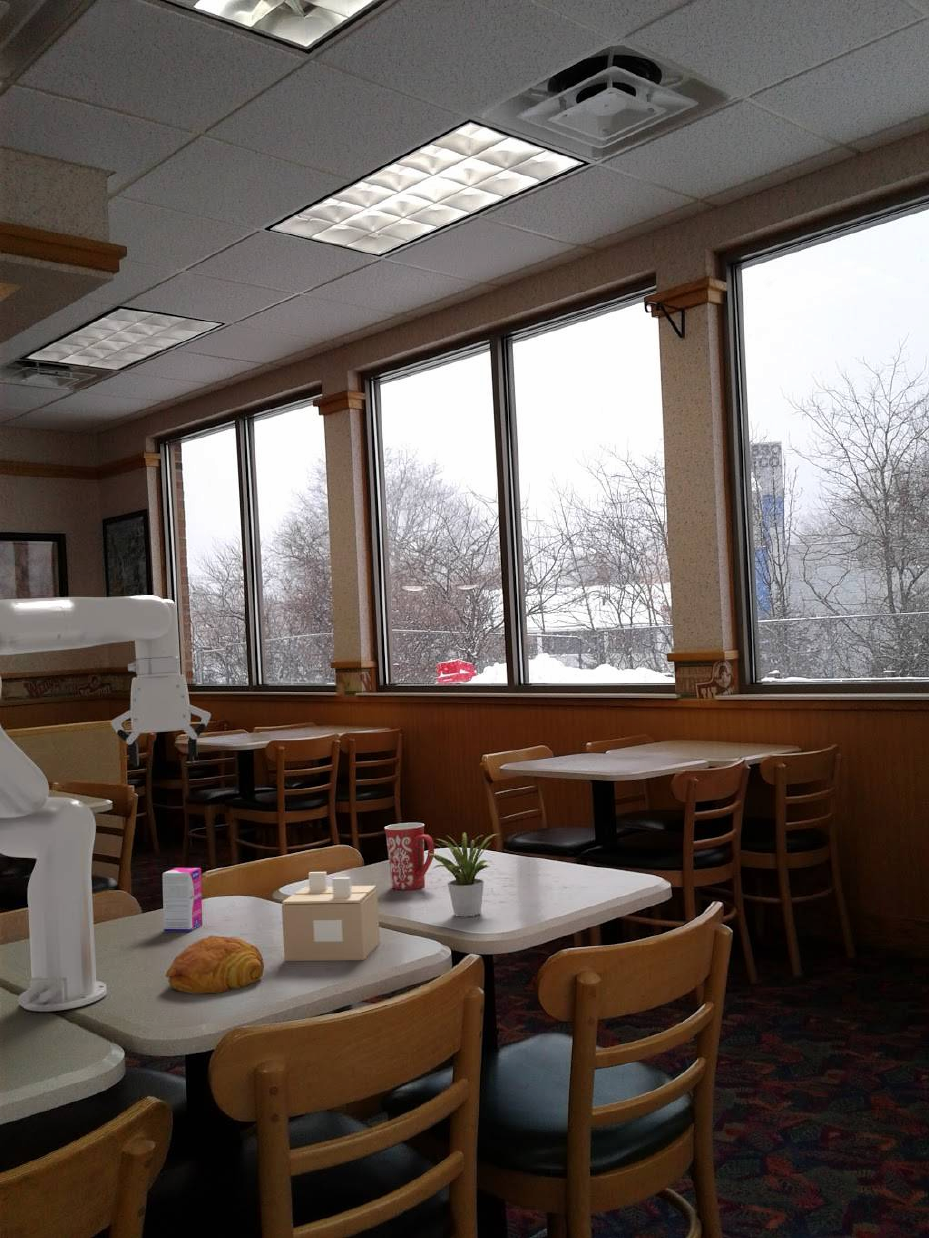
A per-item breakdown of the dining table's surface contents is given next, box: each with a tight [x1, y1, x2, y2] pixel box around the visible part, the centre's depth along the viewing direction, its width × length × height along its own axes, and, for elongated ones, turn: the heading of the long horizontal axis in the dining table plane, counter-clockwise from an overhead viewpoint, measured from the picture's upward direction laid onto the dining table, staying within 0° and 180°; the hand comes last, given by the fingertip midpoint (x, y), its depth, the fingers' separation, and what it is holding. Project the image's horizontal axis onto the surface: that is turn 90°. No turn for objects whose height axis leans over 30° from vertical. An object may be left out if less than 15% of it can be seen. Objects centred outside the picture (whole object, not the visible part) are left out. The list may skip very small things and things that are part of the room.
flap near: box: [281, 876, 367, 905], centre depth 188 cm, size 5×14×4 cm, turn 80°
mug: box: [383, 822, 435, 891], centre depth 241 cm, size 13×9×14 cm
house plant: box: [424, 831, 501, 917], centre depth 215 cm, size 14×14×16 cm
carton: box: [281, 888, 381, 962], centre depth 191 cm, size 11×14×10 cm
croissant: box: [165, 935, 265, 995], centre depth 177 cm, size 14×16×8 cm
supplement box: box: [162, 867, 203, 933], centre depth 215 cm, size 6×6×12 cm
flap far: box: [293, 871, 377, 895], centre depth 195 cm, size 5×14×4 cm, turn 80°
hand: (164, 763), depth 195 cm, fingers open, 9 cm apart
